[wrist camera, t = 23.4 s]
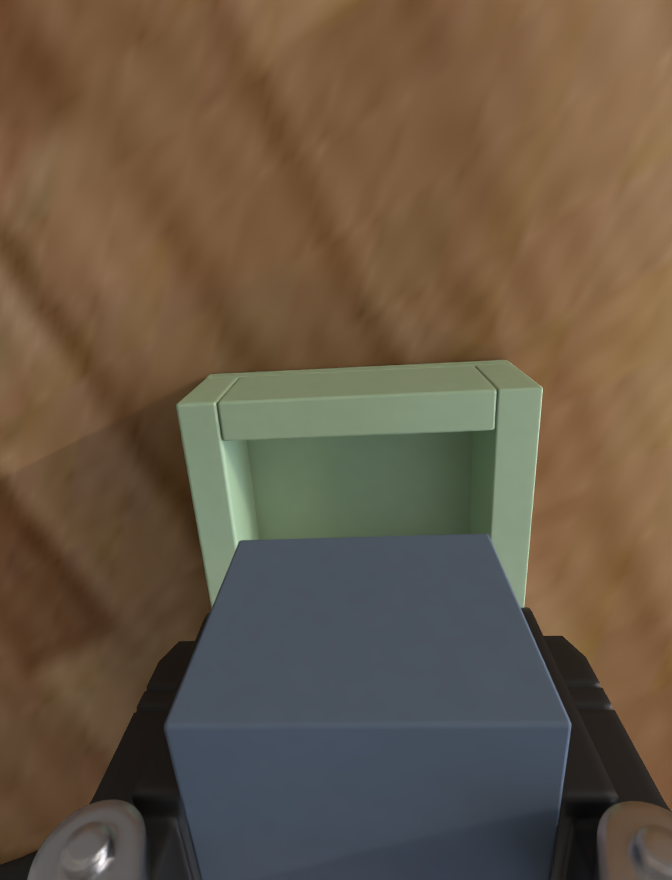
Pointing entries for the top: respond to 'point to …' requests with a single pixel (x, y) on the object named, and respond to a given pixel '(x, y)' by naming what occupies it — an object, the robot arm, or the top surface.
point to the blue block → (369, 717)
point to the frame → (363, 456)
